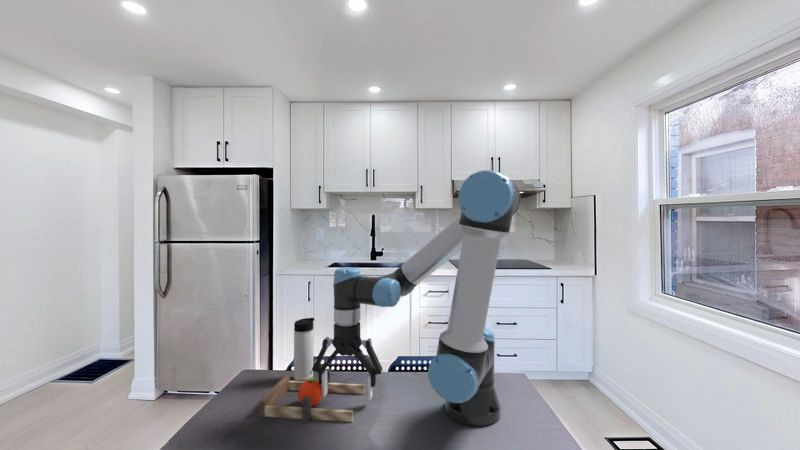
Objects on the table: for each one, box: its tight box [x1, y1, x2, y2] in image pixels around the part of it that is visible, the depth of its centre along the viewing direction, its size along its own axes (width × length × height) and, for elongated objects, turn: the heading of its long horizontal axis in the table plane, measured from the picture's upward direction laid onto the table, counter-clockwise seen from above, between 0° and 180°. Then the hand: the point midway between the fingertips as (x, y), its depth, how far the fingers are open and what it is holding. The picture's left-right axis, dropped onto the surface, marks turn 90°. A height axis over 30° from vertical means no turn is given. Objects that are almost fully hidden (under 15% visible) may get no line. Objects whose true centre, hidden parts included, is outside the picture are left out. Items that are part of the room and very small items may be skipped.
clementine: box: [298, 377, 323, 407], centre depth 100 cm, size 8×7×7 cm
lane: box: [258, 368, 366, 424], centre depth 100 cm, size 26×20×6 cm
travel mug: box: [293, 317, 315, 381], centre depth 116 cm, size 6×7×20 cm
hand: (347, 396), depth 99 cm, fingers open, 13 cm apart
